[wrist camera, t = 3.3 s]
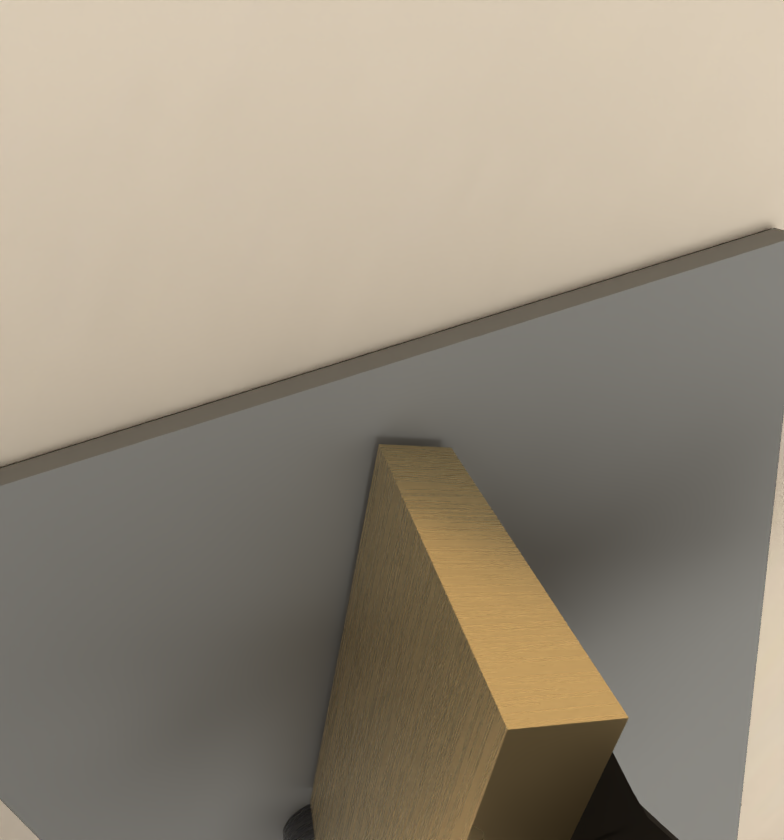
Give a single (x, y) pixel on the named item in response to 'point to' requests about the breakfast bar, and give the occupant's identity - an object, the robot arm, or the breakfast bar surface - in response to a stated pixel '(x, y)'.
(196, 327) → the breakfast bar surface
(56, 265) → the breakfast bar surface
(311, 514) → the hinge base
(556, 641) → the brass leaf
